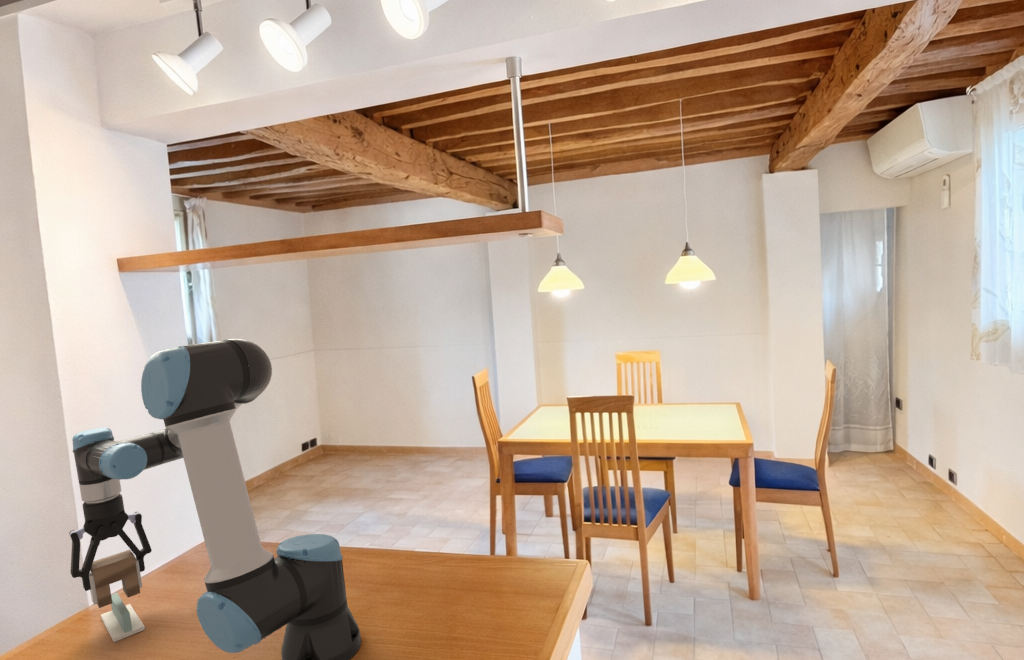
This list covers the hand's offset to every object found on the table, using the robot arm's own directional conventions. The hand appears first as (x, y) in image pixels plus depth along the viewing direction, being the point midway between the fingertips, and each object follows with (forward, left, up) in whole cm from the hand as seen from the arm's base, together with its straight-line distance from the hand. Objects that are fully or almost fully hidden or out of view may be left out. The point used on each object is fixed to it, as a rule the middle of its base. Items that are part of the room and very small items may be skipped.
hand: (117, 593), depth 140 cm
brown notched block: (0, 0, -1) cm, 1 cm away
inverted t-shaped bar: (0, 0, -7) cm, 7 cm away
